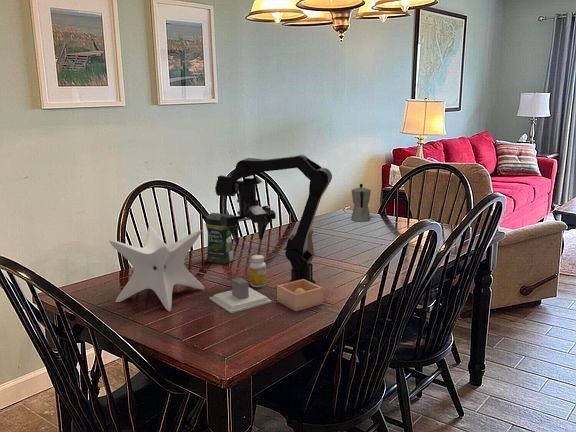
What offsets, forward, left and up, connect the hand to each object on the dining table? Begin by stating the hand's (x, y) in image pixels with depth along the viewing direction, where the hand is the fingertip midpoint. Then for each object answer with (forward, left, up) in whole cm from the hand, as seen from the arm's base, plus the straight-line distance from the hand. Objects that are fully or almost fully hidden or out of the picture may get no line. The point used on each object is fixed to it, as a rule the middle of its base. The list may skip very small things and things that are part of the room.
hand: (249, 242), depth 185 cm
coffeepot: (-87, -41, -13) cm, 97 cm away
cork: (-32, -11, -13) cm, 36 cm away
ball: (-1, +28, -10) cm, 30 cm away
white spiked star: (+31, -3, -13) cm, 34 cm away
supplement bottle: (+1, +7, -13) cm, 15 cm away
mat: (+13, +16, -13) cm, 24 cm away
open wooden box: (-1, +28, -13) cm, 31 cm away
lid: (+13, +16, -12) cm, 24 cm away
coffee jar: (-1, -24, -13) cm, 28 cm away
